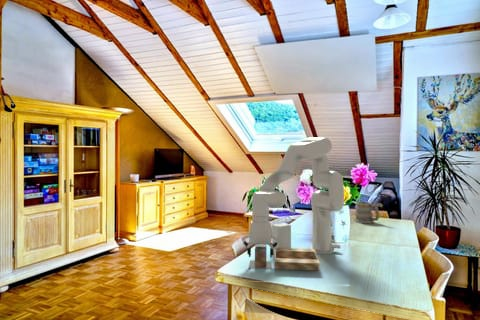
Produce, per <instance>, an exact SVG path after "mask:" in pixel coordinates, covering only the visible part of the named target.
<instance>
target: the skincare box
mask: <svg viewBox="0 0 480 320" xmlns="http://www.w3.org/2000/svg"><path fill="white" fill-rule="evenodd" d="M271 231H272V235H274V236H276V237H277V238H279V239H280V240H279V242H278V244H277V246H276V247H274V248H292V225H291V224H290V223H286V222H282V223H274V224H271ZM275 241H276V240H274V239H273V238H272V241H271V243H272V244H274V243H275ZM273 253H274V249H273Z"/></svg>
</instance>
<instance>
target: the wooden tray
mask: <svg viewBox="0 0 480 320" xmlns="http://www.w3.org/2000/svg"><path fill="white" fill-rule="evenodd" d="M317 254H318V253H316V252H315V250H314V249H309V248H298V247H297V248H296V247H295V248H293V247H291V248H274V252H273V256H274V257H273V258H274V260H273V263H274V264H273V265H274V267H273V268H274V269H275V270H277V269H279V270H299V271H319V270H320V269H319V265H321V261H320V260H319V257H318V255H317Z"/></svg>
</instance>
